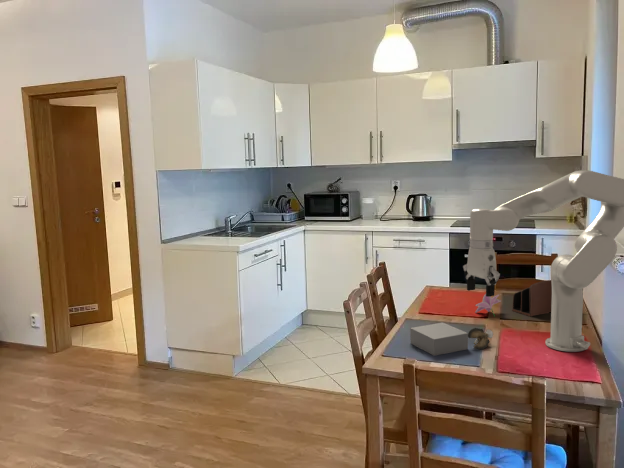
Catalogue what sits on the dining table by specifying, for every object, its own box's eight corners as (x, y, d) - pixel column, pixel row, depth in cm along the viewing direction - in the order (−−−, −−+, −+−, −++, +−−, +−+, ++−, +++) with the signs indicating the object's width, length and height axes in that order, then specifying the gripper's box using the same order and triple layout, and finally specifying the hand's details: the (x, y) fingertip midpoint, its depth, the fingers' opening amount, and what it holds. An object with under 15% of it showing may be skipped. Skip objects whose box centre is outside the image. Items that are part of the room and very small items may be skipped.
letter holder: (564, 310, 220) (565, 278, 218) (530, 317, 212) (531, 283, 210) (545, 305, 229) (546, 274, 227) (512, 311, 221) (512, 279, 219)
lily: (506, 314, 219) (497, 293, 222) (509, 311, 208) (500, 289, 211) (478, 323, 221) (470, 302, 224) (480, 320, 210) (471, 297, 213)
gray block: (467, 349, 177) (467, 333, 177) (434, 356, 172) (434, 339, 171) (442, 338, 190) (442, 322, 189) (410, 344, 185) (410, 328, 184)
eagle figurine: (468, 336, 187) (462, 339, 179) (480, 321, 185) (474, 323, 177) (486, 350, 183) (480, 354, 176) (498, 335, 182) (492, 338, 174)
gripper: (508, 247, 171) (506, 297, 173) (473, 240, 187) (472, 286, 189) (490, 248, 168) (489, 299, 170) (456, 242, 184) (455, 289, 186)
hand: (480, 293), depth 180 cm, fingers open, 9 cm apart
